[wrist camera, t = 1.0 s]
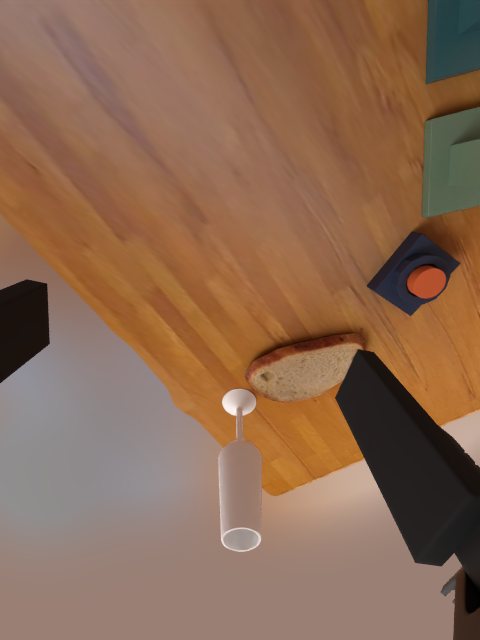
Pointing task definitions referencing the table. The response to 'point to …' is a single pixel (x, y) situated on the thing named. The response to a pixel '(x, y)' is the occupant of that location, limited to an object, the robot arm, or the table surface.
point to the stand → (451, 163)
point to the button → (426, 281)
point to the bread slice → (304, 368)
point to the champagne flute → (240, 480)
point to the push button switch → (400, 266)
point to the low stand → (452, 38)
